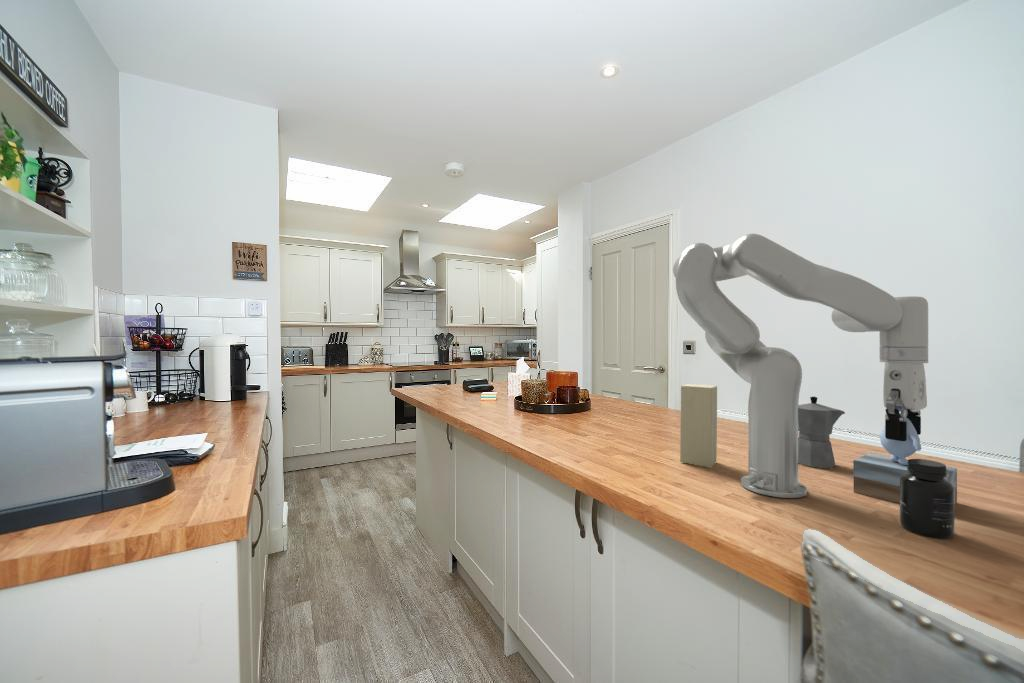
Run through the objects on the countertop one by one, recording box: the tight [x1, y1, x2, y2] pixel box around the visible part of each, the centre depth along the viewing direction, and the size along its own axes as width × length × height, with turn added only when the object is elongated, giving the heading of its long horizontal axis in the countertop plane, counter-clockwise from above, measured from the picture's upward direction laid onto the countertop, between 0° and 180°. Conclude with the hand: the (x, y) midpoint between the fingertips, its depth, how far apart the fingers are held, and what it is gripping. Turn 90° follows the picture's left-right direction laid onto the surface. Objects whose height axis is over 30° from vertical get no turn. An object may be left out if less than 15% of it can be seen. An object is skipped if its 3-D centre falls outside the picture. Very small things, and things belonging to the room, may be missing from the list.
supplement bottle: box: [899, 458, 956, 540], centre depth 73 cm, size 7×7×12 cm
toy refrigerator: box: [679, 383, 718, 468], centre depth 114 cm, size 8×7×21 cm
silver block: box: [853, 452, 958, 505], centre depth 88 cm, size 10×14×7 cm
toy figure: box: [879, 412, 922, 465], centre depth 89 cm, size 11×6×12 cm, turn 173°
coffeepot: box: [798, 396, 846, 469], centre depth 113 cm, size 15×9×18 cm, turn 44°
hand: (903, 436), depth 88 cm, fingers open, 9 cm apart
